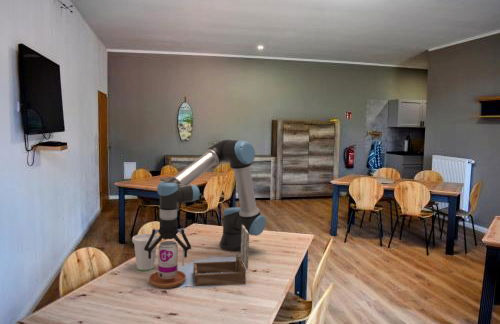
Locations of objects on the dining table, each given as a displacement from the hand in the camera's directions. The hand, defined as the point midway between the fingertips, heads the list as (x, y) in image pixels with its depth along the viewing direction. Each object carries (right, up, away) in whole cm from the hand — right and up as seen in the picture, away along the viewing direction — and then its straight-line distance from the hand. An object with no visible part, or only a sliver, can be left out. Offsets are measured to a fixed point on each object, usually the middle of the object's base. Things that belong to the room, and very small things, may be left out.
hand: (167, 265), depth 167 cm
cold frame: (+22, -8, +7) cm, 24 cm away
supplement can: (0, -5, 0) cm, 5 cm away
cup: (-14, -6, +16) cm, 23 cm away
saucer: (0, -8, +1) cm, 8 cm away
